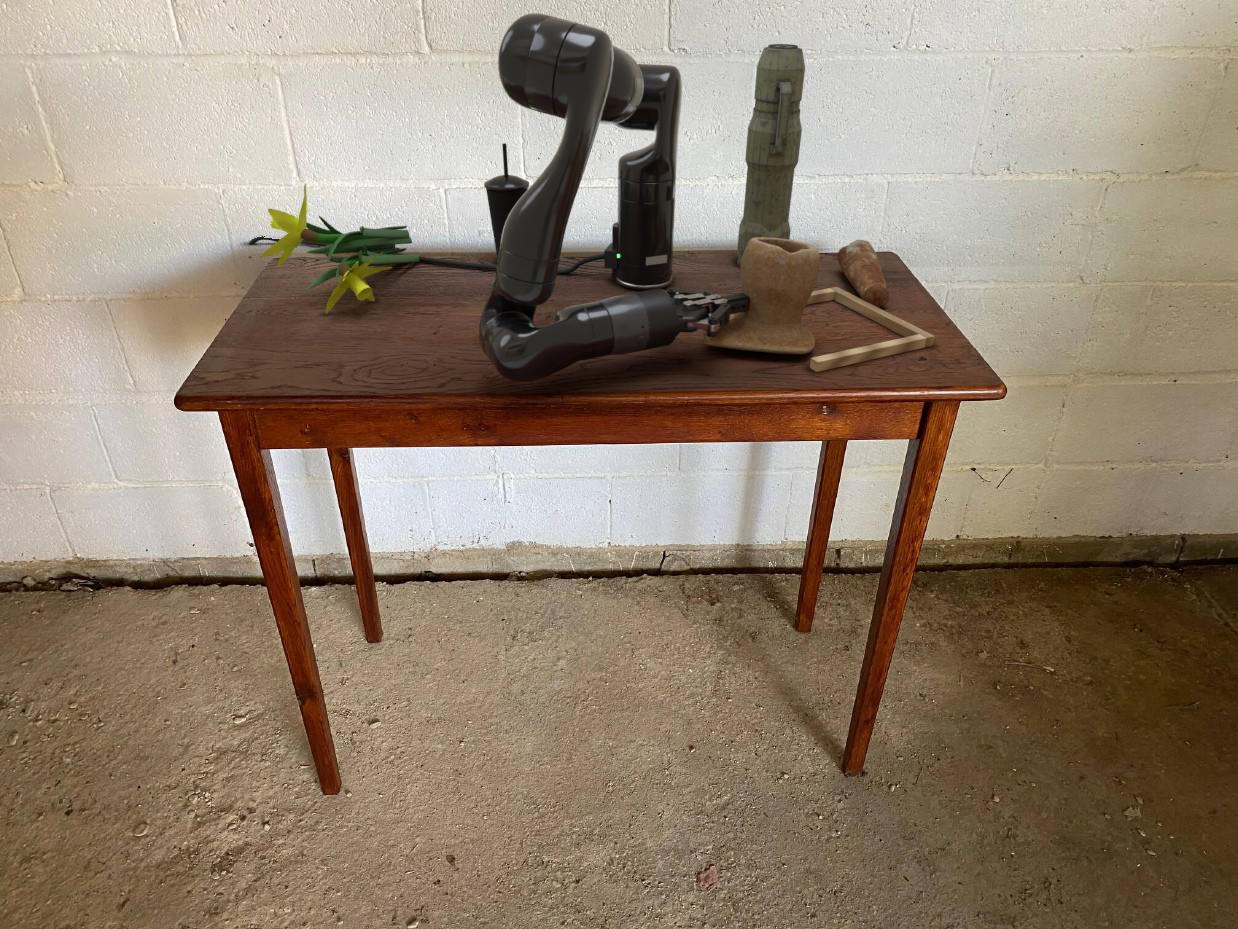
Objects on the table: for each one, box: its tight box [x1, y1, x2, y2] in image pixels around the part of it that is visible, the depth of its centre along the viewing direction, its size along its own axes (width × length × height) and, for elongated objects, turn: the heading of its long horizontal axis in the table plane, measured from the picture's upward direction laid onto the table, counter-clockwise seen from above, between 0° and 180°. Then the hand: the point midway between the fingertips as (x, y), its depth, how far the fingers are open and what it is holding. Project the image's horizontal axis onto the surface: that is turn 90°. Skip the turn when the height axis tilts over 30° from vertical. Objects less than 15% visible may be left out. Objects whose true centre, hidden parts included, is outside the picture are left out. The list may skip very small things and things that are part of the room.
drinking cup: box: [483, 142, 530, 261], centre depth 144 cm, size 8×8×20 cm
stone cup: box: [703, 237, 821, 355], centre depth 115 cm, size 15×12×15 cm
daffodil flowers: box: [259, 182, 422, 315], centre depth 132 cm, size 17×15×35 cm
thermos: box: [736, 43, 806, 268], centre depth 140 cm, size 9×12×35 cm
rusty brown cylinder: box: [837, 239, 890, 308], centre depth 137 cm, size 6×19×6 cm, turn 175°
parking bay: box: [730, 286, 935, 373], centre depth 124 cm, size 20×22×2 cm
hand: (746, 301), depth 115 cm, fingers closed
